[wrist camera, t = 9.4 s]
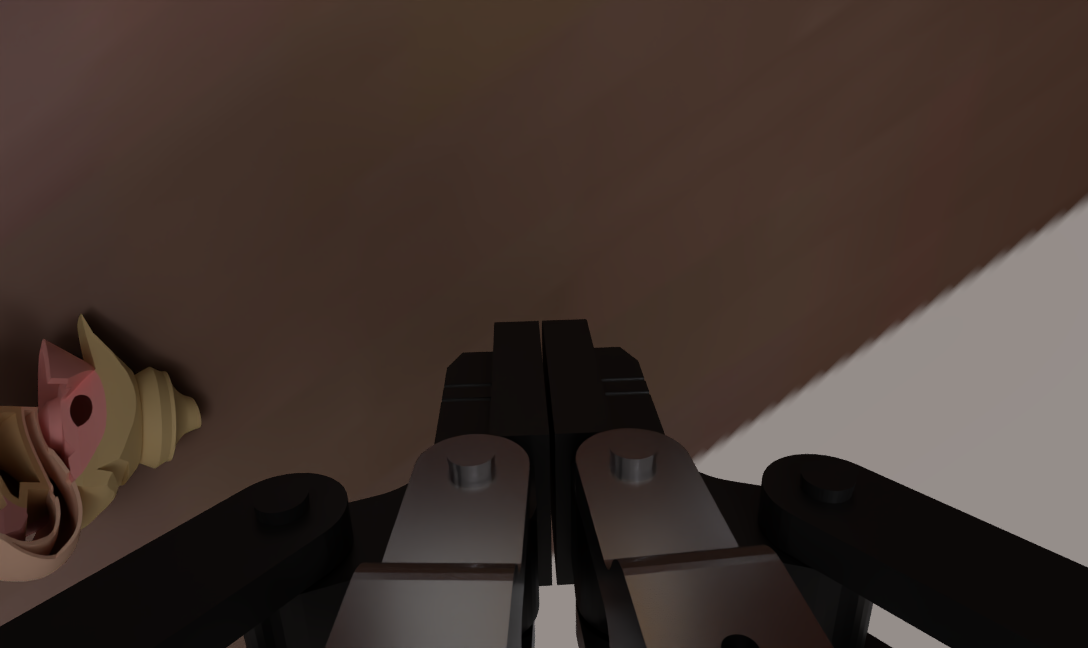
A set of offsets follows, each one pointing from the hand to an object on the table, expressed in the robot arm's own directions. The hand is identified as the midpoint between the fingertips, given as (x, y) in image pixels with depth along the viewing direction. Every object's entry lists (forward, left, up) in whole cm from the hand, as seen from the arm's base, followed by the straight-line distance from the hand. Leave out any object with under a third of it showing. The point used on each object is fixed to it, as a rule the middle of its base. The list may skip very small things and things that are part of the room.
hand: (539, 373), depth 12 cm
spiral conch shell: (+10, -19, -17) cm, 27 cm away
